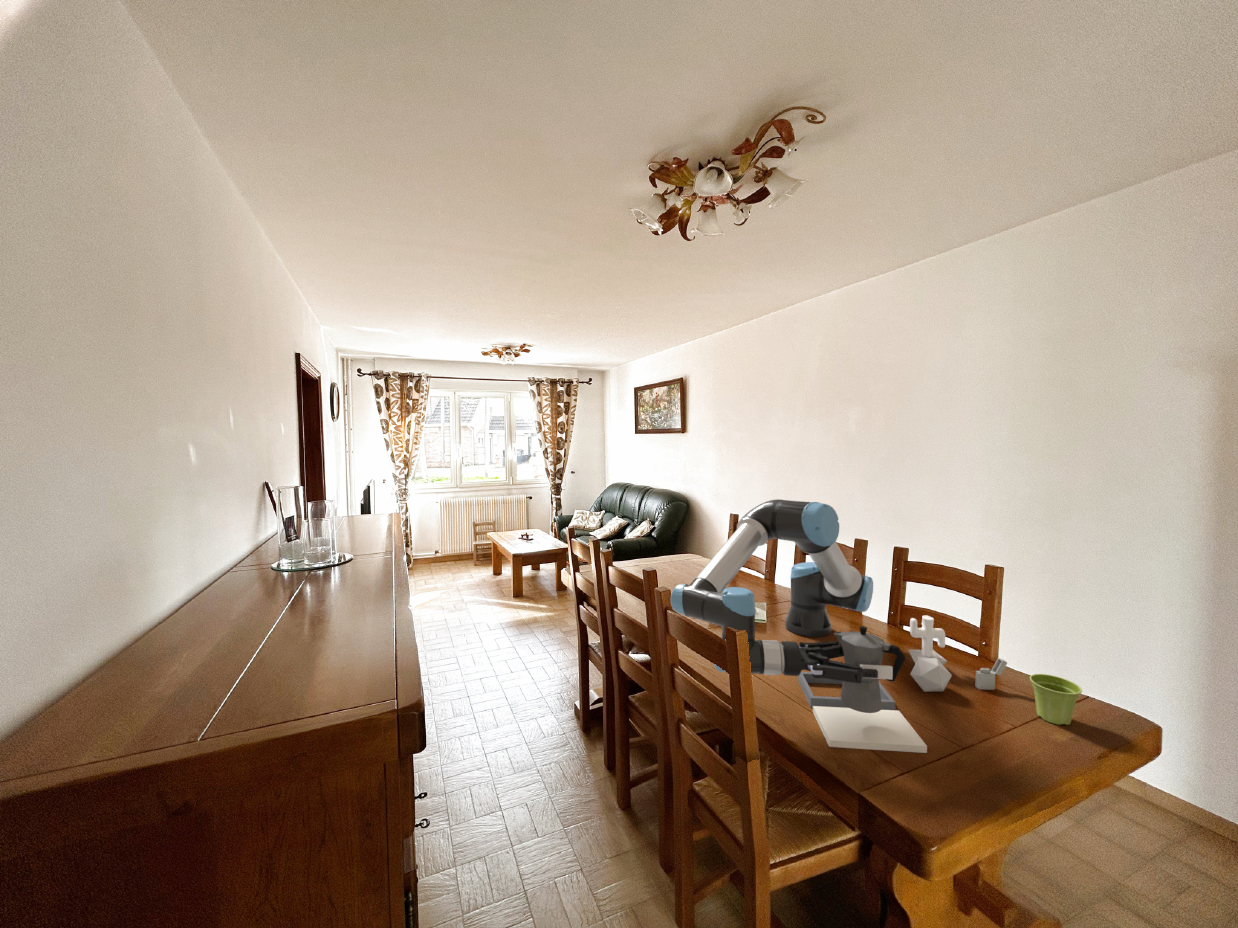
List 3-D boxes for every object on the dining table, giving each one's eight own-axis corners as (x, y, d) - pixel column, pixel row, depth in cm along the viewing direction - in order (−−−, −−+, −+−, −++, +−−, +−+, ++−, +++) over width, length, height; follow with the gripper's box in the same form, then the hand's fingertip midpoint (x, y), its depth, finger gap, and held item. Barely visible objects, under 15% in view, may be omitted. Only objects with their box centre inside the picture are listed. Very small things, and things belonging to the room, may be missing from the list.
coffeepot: (823, 698, 117) (825, 623, 116) (840, 684, 123) (842, 613, 122) (895, 727, 106) (898, 644, 105) (909, 710, 112) (912, 632, 111)
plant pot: (1081, 718, 119) (1082, 682, 119) (1079, 735, 112) (1080, 697, 112) (1030, 703, 126) (1032, 670, 125) (1026, 718, 119) (1027, 683, 119)
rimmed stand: (797, 680, 139) (798, 671, 139) (873, 683, 137) (873, 675, 136) (810, 707, 125) (810, 697, 125) (895, 711, 123) (895, 702, 123)
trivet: (812, 711, 123) (812, 705, 123) (898, 716, 121) (898, 710, 121) (829, 746, 109) (829, 740, 109) (926, 752, 107) (927, 746, 107)
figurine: (950, 673, 142) (952, 621, 141) (916, 672, 143) (917, 621, 142) (936, 661, 149) (937, 612, 148) (904, 661, 150) (904, 612, 149)
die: (949, 702, 128) (962, 668, 130) (918, 684, 129) (930, 650, 132) (930, 698, 136) (942, 665, 138) (900, 680, 137) (913, 648, 139)
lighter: (979, 689, 133) (979, 659, 133) (974, 686, 135) (975, 657, 134) (1006, 689, 133) (1007, 660, 132) (1002, 686, 134) (1003, 657, 134)
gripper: (772, 653, 128) (865, 657, 125) (790, 697, 106) (903, 703, 103) (772, 624, 127) (865, 628, 124) (791, 662, 105) (904, 668, 103)
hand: (882, 662), depth 114 cm, fingers closed on coffeepot, 9 cm apart
